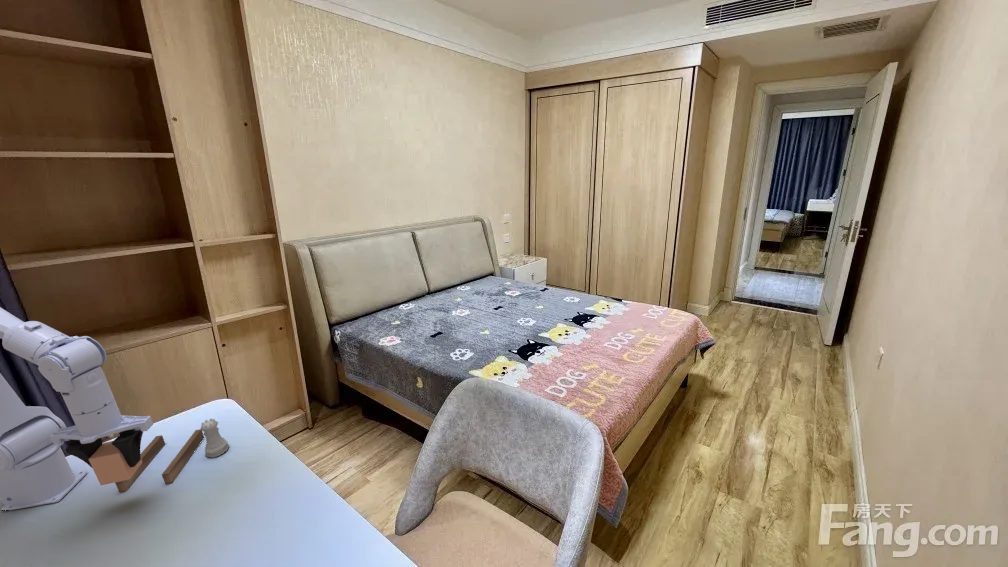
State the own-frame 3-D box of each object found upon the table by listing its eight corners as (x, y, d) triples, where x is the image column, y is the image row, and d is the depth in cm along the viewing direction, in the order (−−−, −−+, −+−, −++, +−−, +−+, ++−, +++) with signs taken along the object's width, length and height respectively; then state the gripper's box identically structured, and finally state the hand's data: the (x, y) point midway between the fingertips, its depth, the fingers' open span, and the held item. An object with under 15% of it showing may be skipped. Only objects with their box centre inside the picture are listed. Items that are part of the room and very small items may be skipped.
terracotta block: (100, 485, 74) (88, 459, 72) (114, 468, 78) (103, 442, 76) (130, 479, 75) (118, 453, 73) (142, 462, 79) (132, 437, 77)
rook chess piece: (220, 458, 89) (210, 428, 87) (201, 458, 90) (190, 429, 87) (233, 444, 94) (224, 415, 91) (215, 444, 94) (205, 415, 91)
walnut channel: (119, 492, 81) (115, 482, 81) (159, 444, 94) (156, 436, 94) (172, 483, 83) (168, 473, 82) (204, 437, 96) (201, 429, 95)
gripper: (23, 426, 67) (56, 490, 71) (124, 412, 69) (150, 474, 74) (58, 401, 73) (86, 461, 78) (149, 389, 76) (171, 447, 80)
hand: (119, 465), depth 76 cm, fingers closed on terracotta block, 5 cm apart
